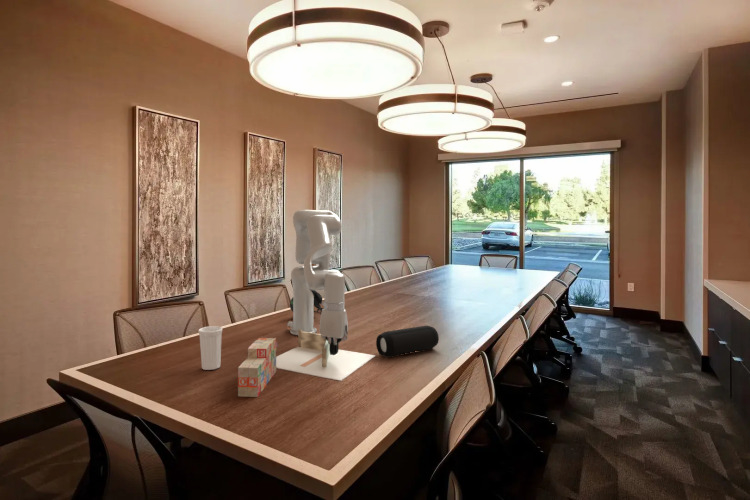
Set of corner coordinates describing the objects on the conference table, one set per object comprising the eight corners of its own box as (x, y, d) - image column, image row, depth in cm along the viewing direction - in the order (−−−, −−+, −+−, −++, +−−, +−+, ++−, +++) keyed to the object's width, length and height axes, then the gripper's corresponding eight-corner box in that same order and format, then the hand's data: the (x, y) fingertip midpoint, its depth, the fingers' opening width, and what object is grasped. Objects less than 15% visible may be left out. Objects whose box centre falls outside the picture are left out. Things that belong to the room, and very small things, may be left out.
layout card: (260, 365, 152) (260, 364, 152) (303, 344, 177) (303, 343, 177) (341, 381, 138) (341, 380, 138) (375, 356, 163) (375, 355, 163)
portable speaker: (425, 345, 179) (425, 322, 178) (439, 351, 171) (440, 327, 170) (374, 354, 166) (375, 329, 166) (387, 361, 158) (388, 336, 157)
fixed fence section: (297, 347, 173) (297, 328, 172) (300, 345, 175) (300, 327, 174) (329, 352, 166) (329, 333, 166) (332, 351, 168) (332, 332, 168)
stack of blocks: (258, 397, 125) (257, 358, 124) (237, 397, 125) (237, 357, 124) (276, 371, 146) (276, 337, 145) (259, 371, 146) (258, 337, 145)
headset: (319, 327, 234) (288, 313, 214) (309, 314, 242) (278, 300, 222) (338, 305, 234) (308, 289, 214) (327, 293, 242) (297, 276, 222)
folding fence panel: (326, 351, 166) (326, 335, 166) (330, 351, 166) (330, 335, 166) (321, 367, 148) (321, 349, 148) (326, 367, 148) (326, 349, 148)
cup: (208, 373, 143) (207, 333, 142) (194, 368, 147) (193, 329, 146) (227, 366, 150) (227, 328, 149) (213, 362, 154) (213, 324, 153)
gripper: (311, 306, 153) (311, 353, 155) (347, 310, 148) (346, 360, 149) (322, 302, 160) (321, 348, 162) (356, 306, 154) (356, 353, 156)
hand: (333, 353), depth 156 cm, fingers closed
